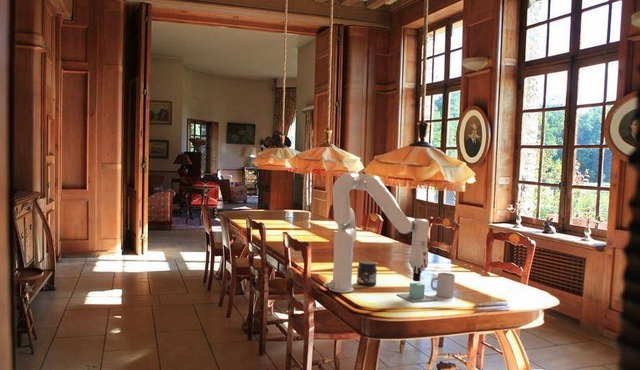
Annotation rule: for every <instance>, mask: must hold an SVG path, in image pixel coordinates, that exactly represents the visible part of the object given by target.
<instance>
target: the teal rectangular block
mask: <svg viewBox="0 0 640 370" xmlns="http://www.w3.org/2000/svg"><path fill="white" fill-rule="evenodd" d="M425 285H426V284H424V283H421V282H420V281H415V282H409V293H408V294H409V296H410V297H412V298H415V299H418V298H424V295H425V289H426V287H425Z"/></svg>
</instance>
